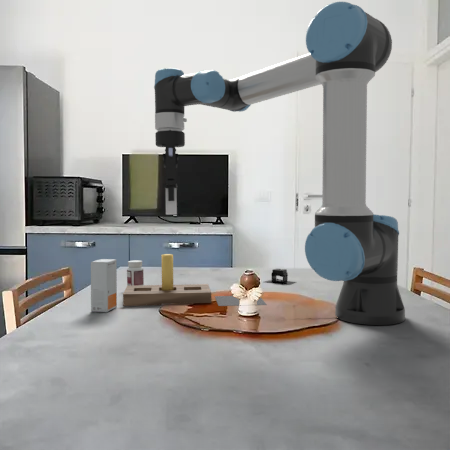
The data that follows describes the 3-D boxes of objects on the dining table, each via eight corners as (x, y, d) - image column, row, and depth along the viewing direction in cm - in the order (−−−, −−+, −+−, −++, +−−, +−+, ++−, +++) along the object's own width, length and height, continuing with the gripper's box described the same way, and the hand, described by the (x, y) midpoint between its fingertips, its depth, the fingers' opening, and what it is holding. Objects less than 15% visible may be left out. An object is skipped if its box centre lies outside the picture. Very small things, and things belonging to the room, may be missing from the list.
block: (211, 304, 134) (211, 292, 134) (123, 306, 132) (123, 294, 132) (208, 294, 146) (208, 284, 146) (127, 296, 144) (127, 285, 144)
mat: (266, 306, 131) (266, 304, 131) (218, 307, 130) (218, 305, 130) (258, 296, 143) (258, 295, 143) (214, 297, 142) (214, 296, 142)
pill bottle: (145, 288, 156) (145, 260, 155) (141, 291, 151) (141, 262, 151) (129, 288, 156) (129, 259, 156) (125, 291, 152) (124, 262, 151)
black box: (302, 284, 166) (302, 269, 166) (292, 287, 160) (292, 272, 160) (267, 280, 173) (267, 266, 172) (256, 284, 167) (256, 269, 166)
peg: (173, 301, 137) (173, 255, 137) (161, 301, 137) (161, 255, 136) (173, 299, 140) (173, 254, 140) (162, 299, 140) (161, 254, 139)
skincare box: (107, 312, 125) (106, 262, 124) (90, 312, 125) (89, 261, 125) (117, 307, 131) (117, 259, 130) (101, 306, 131) (100, 258, 131)
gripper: (186, 125, 125) (187, 215, 126) (183, 136, 149) (184, 211, 151) (154, 124, 124) (155, 215, 125) (156, 136, 148) (157, 212, 150)
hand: (171, 213), depth 138 cm, fingers open, 13 cm apart
